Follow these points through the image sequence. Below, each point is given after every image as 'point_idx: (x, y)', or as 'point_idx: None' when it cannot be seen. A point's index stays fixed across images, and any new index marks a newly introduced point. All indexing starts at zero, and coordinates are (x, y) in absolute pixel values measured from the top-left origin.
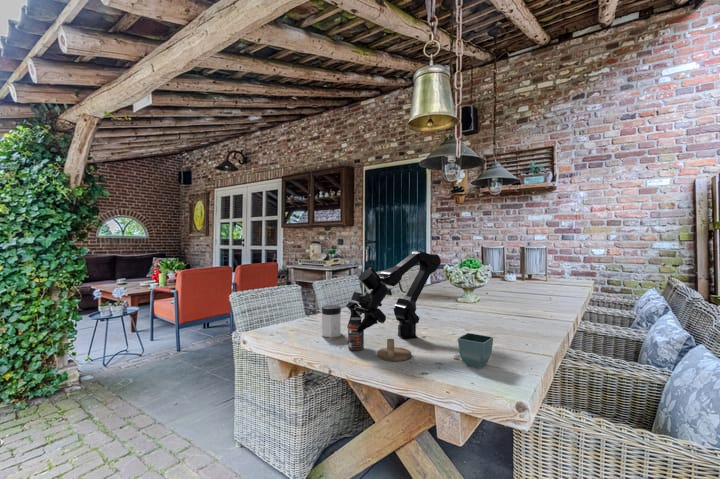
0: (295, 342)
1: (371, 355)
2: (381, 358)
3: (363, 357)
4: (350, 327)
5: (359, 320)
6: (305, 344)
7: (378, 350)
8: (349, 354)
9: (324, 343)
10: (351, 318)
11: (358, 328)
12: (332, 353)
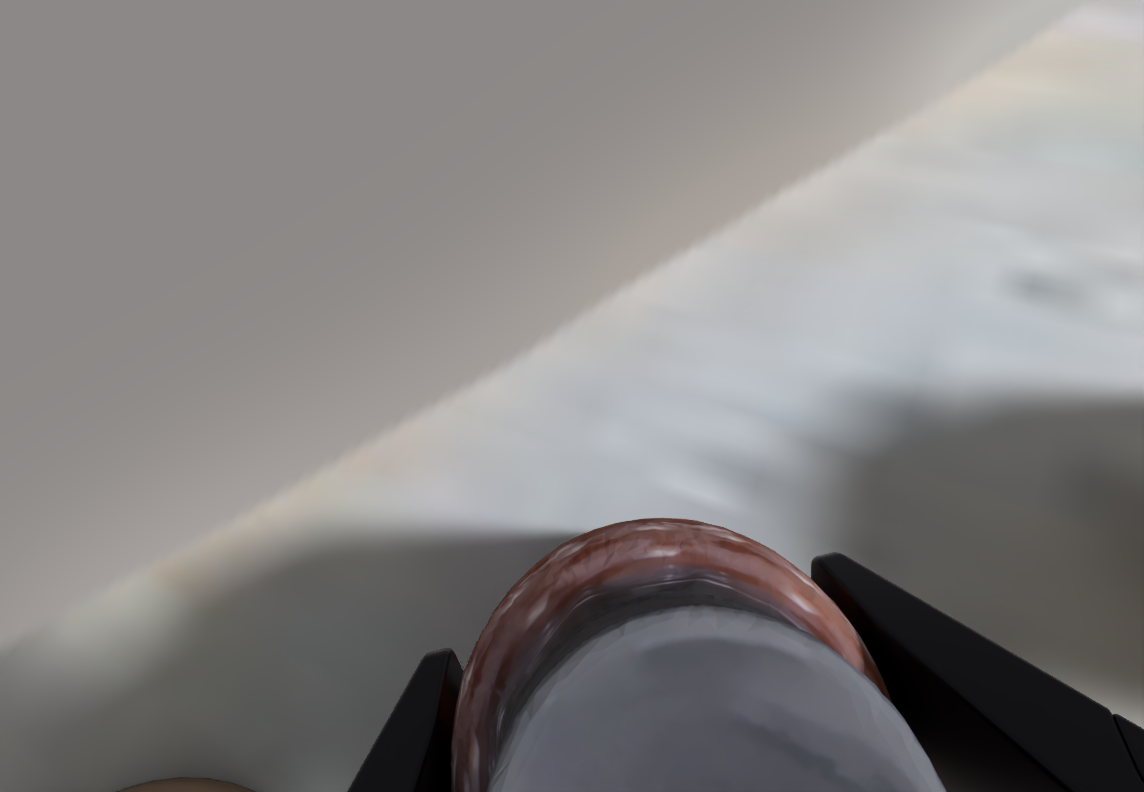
0: (1067, 90)
1: (315, 725)
2: (130, 789)
3: (308, 596)
4: (586, 536)
5: None
6: (971, 161)
7: None
8: (472, 483)
9: (963, 345)
10: (769, 650)
11: (415, 703)
12: (581, 329)
